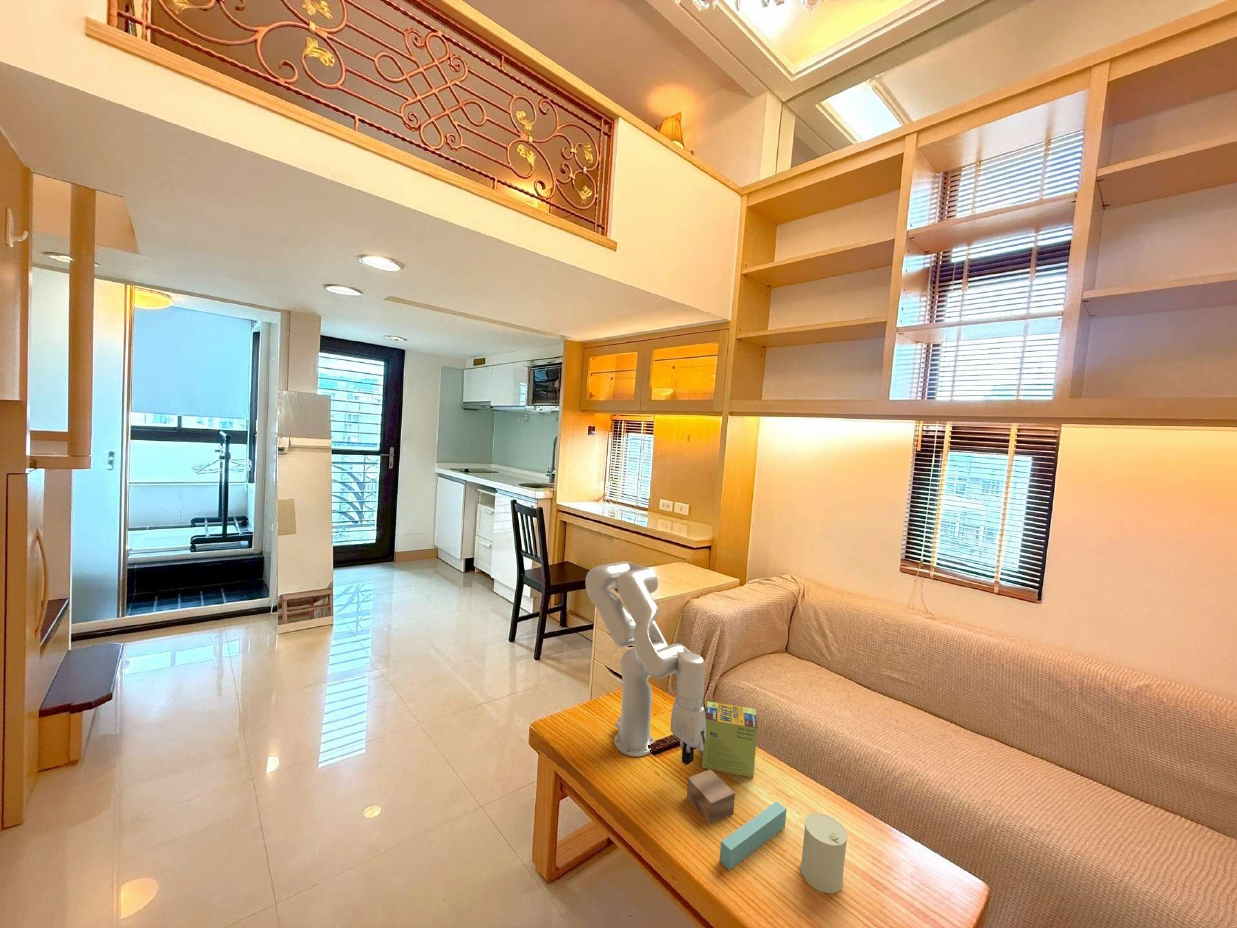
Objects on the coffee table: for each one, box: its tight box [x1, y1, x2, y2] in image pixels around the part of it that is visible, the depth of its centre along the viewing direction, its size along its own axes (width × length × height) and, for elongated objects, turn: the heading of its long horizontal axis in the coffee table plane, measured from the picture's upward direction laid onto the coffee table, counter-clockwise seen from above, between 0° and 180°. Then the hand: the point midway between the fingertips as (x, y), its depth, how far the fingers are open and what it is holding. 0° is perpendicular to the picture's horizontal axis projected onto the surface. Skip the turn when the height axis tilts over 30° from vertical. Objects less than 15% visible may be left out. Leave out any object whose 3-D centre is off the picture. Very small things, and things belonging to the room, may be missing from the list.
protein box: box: [701, 701, 759, 778], centre depth 151 cm, size 10×15×16 cm
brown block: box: [686, 769, 736, 825], centre depth 133 cm, size 10×8×6 cm
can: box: [799, 812, 848, 894], centre depth 114 cm, size 9×9×12 cm
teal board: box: [719, 801, 787, 871], centre depth 122 cm, size 3×22×5 cm, turn 128°
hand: (687, 761), depth 140 cm, fingers closed
